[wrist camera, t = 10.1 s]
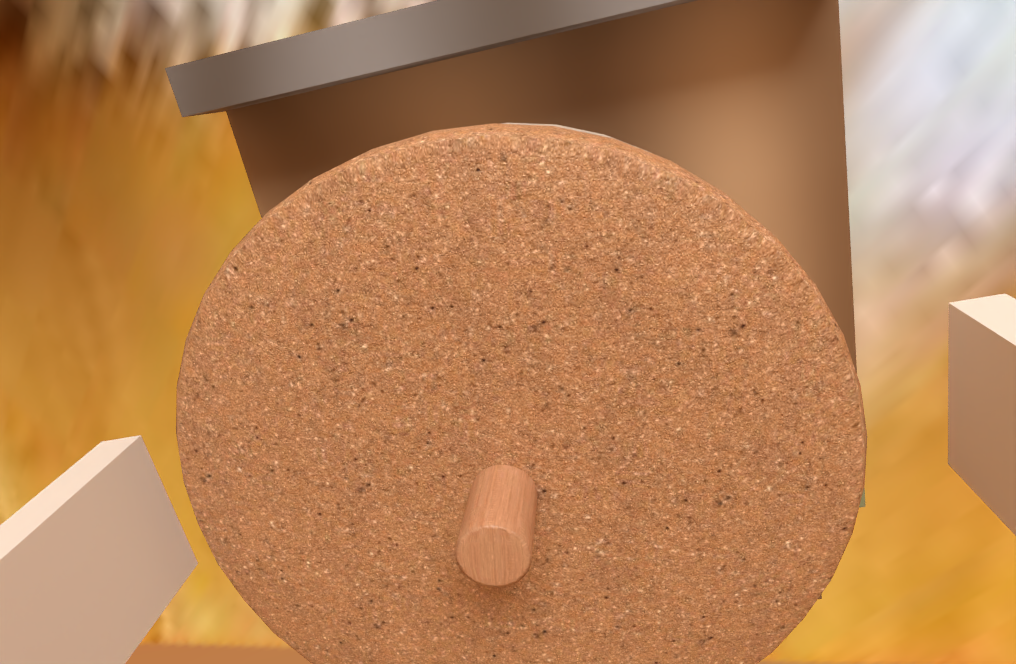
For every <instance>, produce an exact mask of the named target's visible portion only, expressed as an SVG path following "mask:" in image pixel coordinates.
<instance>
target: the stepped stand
mask: <svg viewBox="0 0 1016 664" xmlns="http://www.w3.org/2000/svg"><path fill="white" fill-rule="evenodd" d="M165 69H166V72H167V75H168V78H169V81H170V84H171V86H172V89H173V92H174V95H175V98H176V100H177V103H178V106H179V109H180V112H181V115H182V117H187V116H194V115H201V114H209V113H216V112H223V111H226V112H227V115H228V118H229V121H230V124H231V127H232V130H233V133H234V136H235V139H236V142H237V145H238V148H239V151H240V154H241V157H242V160H243V163H244V166H245V169H246V172H247V175H248V178H249V181H250V184H251V187H252V190H253V193H254V196H255V199H256V202H257V205H258V208H259V211H260V214H261V217H262V218H263V217H264V216H265V214H266V213H267V212H268V211H270V210H271V209H272V208H274V207H275V206H277V205H278V204H279V203H281V202H282V201H283V200H285V199H286V198H287V197H289V196H290V195H291V194H293V193H294V192H295V191H297V190H298V189H299V188H301V187H302V186H303V185H305V184H306V183H308V182H309V181H310V180H312V179H313V178H315V177H317V176H319V175H321V174H323V173H325V172H327V171H329V170H331V169H333V168H335V167H337V166H339V165H341V164H343V163H345V162H347V161H349V160H351V159H353V158H355V157H357V156H359V155H361V154H363V153H365V152H367V151H369V150H371V149H374V148H377V147H380V146H383V145H387V144H390V143H394V142H397V141H400V140H404V139H407V138H410V137H414V136H417V135H420V134H424V133H427V132H430V131H435V130H443V129H451V128H459V127H467V126H475V125H483V124H491V123H496V124H501V123H529V124H553V125H561V126H566V127H570V128H575V129H580V130H585V131H590V132H595V133H599V134H604V135H607V136H610V137H612V138H615V139H617V140H620V141H623V142H625V143H628V144H630V145H633V146H636V147H638V148H641V149H643V150H646V151H648V152H651V153H653V154H655V155H658V156H660V157H663V158H665V159H668V160H671V161H672V162H674V163H676V164H677V165H679V166H681V167H682V168H684V169H686V170H687V171H689V172H691V173H693V174H694V175H696V176H698V177H699V178H701V179H703V180H704V181H706V182H708V183H709V184H711V185H713V186H715V187H716V188H718V189H720V190H721V191H723V192H724V193H725V194H727V195H728V196H729V197H730V198H731V199H733V200H734V201H735V202H736V203H737V204H738V205H740V206H741V207H742V208H743V209H744V210H745V211H747V212H748V213H749V214H750V215H751V216H753V217H754V218H755V219H756V220H757V221H758V222H760V223H761V224H762V225H763V226H764V227H765V228H767V229H768V230H769V231H770V232H771V233H772V234H773V235H774V236H775V237H776V238H777V239H778V240H779V241H780V242H781V243H782V244H783V246H784V247H785V248H786V249H787V251H788V252H789V253H790V254H791V255H792V257H793V258H794V259H795V260H796V261H797V263H798V264H799V265H800V266H801V267H802V269H803V270H804V271H805V272H806V274H807V275H808V276H809V277H810V278H811V280H812V281H813V282H814V283H815V284H816V286H817V288H818V290H819V291H820V293H821V295H822V297H823V299H824V300H825V302H826V304H827V306H828V308H829V309H830V311H831V313H832V315H833V317H834V318H835V320H836V322H837V324H838V326H839V327H840V329H841V331H842V333H843V335H844V338H845V341H846V344H847V347H848V350H849V353H850V356H851V359H852V362H853V365H854V368H855V371H856V374H857V368H856V348H855V327H854V307H853V287H852V267H851V247H850V226H849V206H848V186H847V166H846V146H845V125H844V105H843V85H842V65H841V44H840V24H839V4H838V0H437V1H433V2H429V3H425V4H421V5H417V6H413V7H409V8H405V9H401V10H397V11H393V12H389V13H385V14H381V15H377V16H373V17H369V18H365V19H361V20H357V21H353V22H349V23H345V24H341V25H337V26H333V27H329V28H325V29H321V30H317V31H313V32H309V33H305V34H301V35H297V36H293V37H289V38H285V39H281V40H277V41H273V42H269V43H265V44H261V45H257V46H253V47H249V48H245V49H240V50H236V51H232V52H228V53H224V54H220V55H216V56H212V57H208V58H204V59H200V60H196V61H192V62H188V63H184V64H180V65H176V66H172V67H168V68H165ZM859 507H865V490H864V489H863V493H862V497H861V501H860V505H859ZM818 599H822V596H821V595H820V596H819V598H818Z"/></svg>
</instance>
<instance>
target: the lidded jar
mask: <svg viewBox="0 0 1016 664" xmlns="http://www.w3.org/2000/svg"><path fill="white" fill-rule="evenodd" d="M176 434H177V441H178V447H179V454H180V460H181V467H182V473H183V480H184V484H185V487H186V490H187V493H188V495H189V498H190V501H191V504H192V507H193V510H194V513H195V516H196V519H197V521H198V524H199V526H200V528H201V530H202V532H203V535H204V537H205V539H206V541H207V543H208V545H209V547H210V549H211V551H212V553H213V555H214V557H215V559H216V561H217V563H218V565H219V566H220V568H221V569H222V570H223V572H224V573H225V574H226V576H227V577H228V579H229V580H230V581H231V583H232V584H233V585H234V587H235V588H236V590H237V591H238V592H239V594H240V595H241V596H242V598H243V599H244V600H245V602H246V603H247V604H248V605H249V606H250V607H251V608H252V609H253V610H254V611H255V613H256V614H257V615H258V616H259V617H260V618H261V619H262V620H263V621H264V622H265V624H266V625H267V626H268V627H269V628H270V629H271V630H272V631H273V632H274V633H275V634H276V635H277V636H278V637H280V638H281V639H282V640H283V641H285V642H286V643H287V644H288V645H289V646H291V647H292V648H293V649H294V650H296V651H297V652H298V653H300V654H301V655H302V656H303V657H304V658H306V659H307V660H308V661H309V662H311V663H313V664H757V663H758V662H760V661H761V660H762V659H764V658H765V657H766V656H768V655H769V654H770V653H772V652H773V651H774V650H775V649H776V648H777V647H778V645H779V644H780V643H781V642H782V641H783V640H784V639H785V638H786V637H787V636H788V635H789V634H790V633H791V632H792V630H793V629H794V628H795V627H796V626H797V625H798V624H799V623H800V622H801V621H802V620H803V619H804V617H805V616H806V615H807V613H808V612H809V610H810V609H811V608H812V606H813V605H814V603H815V602H816V600H817V599H818V598H819V596H820V595H821V593H822V592H823V591H824V589H825V588H826V586H827V585H828V584H829V582H830V581H831V579H832V577H833V575H834V573H835V570H836V568H837V566H838V564H839V562H840V559H841V557H842V555H843V553H844V551H845V548H846V546H847V544H848V542H849V540H850V538H851V535H852V533H853V529H854V525H855V521H856V517H857V513H858V509H859V505H860V501H861V497H862V493H863V489H864V482H865V465H866V448H867V432H866V424H865V416H864V409H863V401H862V394H861V386H860V383H859V380H858V377H857V374H856V371H855V368H854V365H853V362H852V359H851V356H850V353H849V350H848V347H847V344H846V341H845V338H844V335H843V333H842V331H841V329H840V327H839V326H838V324H837V322H836V320H835V318H834V317H833V315H832V313H831V311H830V309H829V308H828V306H827V304H826V302H825V300H824V299H823V297H822V295H821V293H820V291H819V290H818V288H817V286H816V284H815V283H814V282H813V281H812V280H811V278H810V277H809V276H808V275H807V274H806V272H805V271H804V270H803V269H802V267H801V266H800V265H799V264H798V263H797V261H796V260H795V259H794V258H793V257H792V255H791V254H790V253H789V252H788V251H787V249H786V248H785V247H784V246H783V244H782V243H781V242H780V241H779V240H778V239H777V238H776V237H775V236H774V235H773V234H772V233H771V232H770V231H769V230H768V229H767V228H765V227H764V226H763V225H762V224H761V223H760V222H758V221H757V220H756V219H755V218H754V217H753V216H751V215H750V214H749V213H748V212H747V211H745V210H744V209H743V208H742V207H741V206H740V205H738V204H737V203H736V202H735V201H734V200H733V199H731V198H730V197H729V196H728V195H727V194H725V193H724V192H723V191H721V190H720V189H718V188H716V187H715V186H713V185H711V184H709V183H708V182H706V181H704V180H703V179H701V178H699V177H698V176H696V175H694V174H693V173H691V172H689V171H687V170H686V169H684V168H682V167H681V166H679V165H677V164H676V163H674V162H672V161H671V160H668V159H665V158H663V157H660V156H658V155H655V154H653V153H651V152H648V151H646V150H643V149H641V148H638V147H636V146H633V145H630V144H628V143H625V142H623V141H620V140H617V139H615V138H612V137H610V136H607V135H604V134H599V133H595V132H590V131H585V130H580V129H575V128H570V127H566V126H561V125H553V124H529V123H501V124H496V123H491V124H483V125H475V126H467V127H459V128H451V129H443V130H435V131H430V132H427V133H424V134H420V135H417V136H414V137H410V138H407V139H404V140H400V141H397V142H394V143H390V144H387V145H383V146H380V147H377V148H374V149H371V150H369V151H367V152H365V153H363V154H361V155H359V156H357V157H355V158H353V159H351V160H349V161H347V162H345V163H343V164H341V165H339V166H337V167H335V168H333V169H331V170H329V171H327V172H325V173H323V174H321V175H319V176H317V177H315V178H313V179H312V180H310V181H309V182H308V183H306V184H305V185H303V186H302V187H301V188H299V189H298V190H297V191H295V192H294V193H293V194H291V195H290V196H289V197H287V198H286V199H285V200H283V201H282V202H281V203H279V204H278V205H277V206H275V207H274V208H272V209H271V210H270V211H268V212H267V213H266V214H265V216H264V217H263V218H262V219H261V220H260V221H259V222H258V223H257V224H256V225H255V226H254V227H253V228H252V230H251V231H250V232H249V233H248V234H247V235H246V236H245V237H244V238H243V239H242V240H241V241H240V242H239V243H238V245H237V246H236V247H235V248H234V249H233V250H232V251H231V253H230V254H229V256H228V257H227V259H226V260H225V262H224V264H223V265H222V267H221V268H220V270H219V272H218V273H217V275H216V276H215V278H214V279H213V281H212V283H211V284H210V286H209V287H208V289H207V290H206V292H205V294H204V296H203V298H202V301H201V303H200V306H199V308H198V311H197V313H196V316H195V318H194V321H193V323H192V326H191V329H190V331H189V334H188V336H187V339H186V343H185V348H184V353H183V358H182V363H181V368H180V373H179V378H178V383H177V414H176Z"/></svg>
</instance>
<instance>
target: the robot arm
mask: <svg viewBox="0 0 1016 664" xmlns="http://www.w3.org/2000/svg"><path fill="white" fill-rule="evenodd" d="M948 464H949V465H950V466H951V468H952V469H953V470H954V471H955V472H956V473H957V474H958V475H959V476H960V477H961V478H962V479H963V480H964V481H965V482H966V483H967V484H968V486H969V487H970V488H971V489H972V490H973V491H974V492H975V493H976V494H977V495H978V496H979V497H980V498H981V499H982V500H983V501H984V503H985V504H986V505H987V506H988V507H989V508H990V509H991V510H992V511H993V512H994V513H995V514H996V515H997V516H998V517H999V518H1000V519H1001V521H1002V522H1003V523H1004V524H1005V525H1006V526H1007V527H1008V528H1009V529H1010V530H1011V531H1012V532H1013V533H1014V534H1015V535H1016V299H1014V298H1013V297H1011V296H1009V295H1007V294H1000V295H994V296H987V297H981V298H975V299H969V300H963V301H957V302H951V303H949V374H948ZM197 564H198V562H197V560H196V558H195V556H194V553H193V551H192V549H191V547H190V544H189V542H188V540H187V538H186V535H185V533H184V531H183V529H182V526H181V524H180V522H179V520H178V517H177V515H176V513H175V511H174V508H173V506H172V504H171V502H170V500H169V497H168V495H167V493H166V491H165V488H164V486H163V484H162V482H161V479H160V477H159V475H158V473H157V470H156V468H155V466H154V464H153V461H152V459H151V457H150V455H149V452H148V450H147V448H146V446H145V443H144V441H143V439H142V437H141V435H140V436H133V437H127V438H121V439H115V440H109V441H103V442H101V443H99V444H98V445H97V446H96V447H95V448H93V449H92V450H91V451H90V452H88V453H87V454H86V455H85V456H84V457H82V458H81V459H80V460H79V461H78V462H76V463H75V464H74V465H73V466H71V467H70V468H69V469H68V470H67V471H65V472H64V473H63V474H62V475H61V476H59V477H58V478H57V479H56V480H55V481H53V482H52V483H51V484H50V485H48V486H47V487H46V488H45V489H44V490H42V491H41V492H40V493H39V494H38V495H36V496H35V497H34V498H33V499H31V500H30V501H29V502H28V503H27V504H25V505H24V506H23V507H22V508H21V509H19V510H18V511H17V512H16V513H15V514H13V515H12V516H11V517H10V518H8V519H7V520H6V521H5V522H4V523H2V524H1V525H0V664H125V663H126V662H127V660H128V659H129V658H130V656H131V655H132V653H133V652H134V651H135V649H136V648H137V647H138V645H139V644H140V642H141V641H142V640H143V638H144V637H145V636H146V634H147V633H148V631H149V630H150V629H151V627H152V626H153V625H154V623H155V622H156V620H157V619H158V618H159V616H160V615H161V614H162V612H163V611H164V609H165V608H166V607H167V605H168V604H169V603H170V601H171V600H172V599H173V597H174V596H175V594H176V593H177V592H178V590H179V589H180V588H181V586H182V585H183V583H184V582H185V581H186V579H187V578H188V577H189V575H190V574H191V572H192V571H193V570H194V568H195V567H196V566H197Z"/></svg>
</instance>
